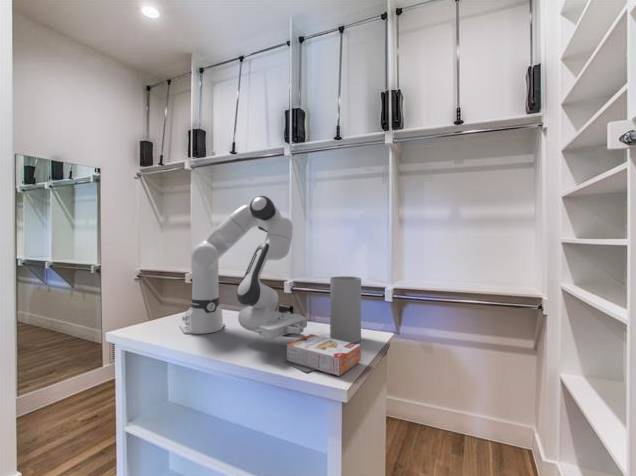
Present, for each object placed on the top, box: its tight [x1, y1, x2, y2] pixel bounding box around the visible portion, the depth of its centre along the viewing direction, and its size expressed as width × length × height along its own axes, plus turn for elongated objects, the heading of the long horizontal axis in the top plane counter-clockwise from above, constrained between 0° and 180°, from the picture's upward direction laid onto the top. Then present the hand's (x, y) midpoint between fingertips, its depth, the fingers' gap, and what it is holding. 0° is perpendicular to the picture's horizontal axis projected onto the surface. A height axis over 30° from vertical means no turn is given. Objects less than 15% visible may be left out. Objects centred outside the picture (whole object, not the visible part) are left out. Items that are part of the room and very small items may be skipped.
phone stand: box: [278, 303, 295, 337], centre depth 141 cm, size 9×6×12 cm, turn 142°
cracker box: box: [286, 333, 362, 377], centre depth 107 cm, size 14×6×21 cm
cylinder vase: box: [329, 275, 362, 344], centre depth 132 cm, size 12×12×25 cm
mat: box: [282, 359, 317, 374], centre depth 109 cm, size 12×16×1 cm
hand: (300, 330), depth 113 cm, fingers closed
